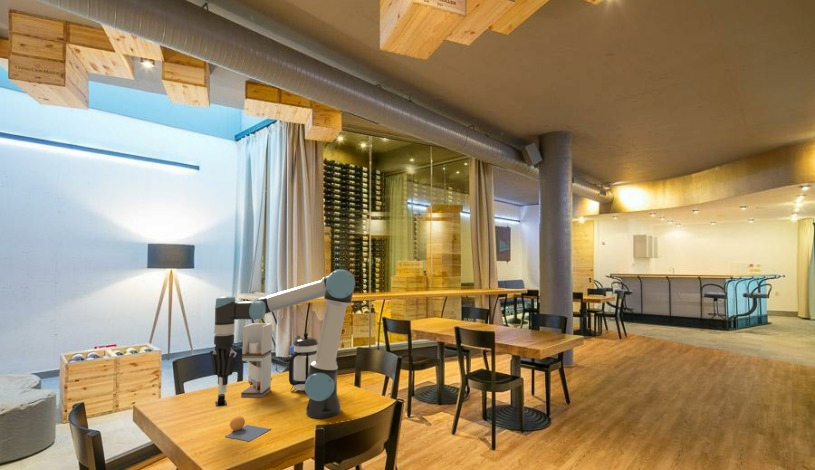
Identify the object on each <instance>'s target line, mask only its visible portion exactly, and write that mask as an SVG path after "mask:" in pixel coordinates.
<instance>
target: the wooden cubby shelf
mask: <svg viewBox="0 0 815 470" xmlns="http://www.w3.org/2000/svg"><path fill="white" fill-rule="evenodd" d="M242 330H243V331H242V355H241V356H242V357H241V358H242V359H241V361H242V362H243V361H244V362H248V363H247V374H248V376H250V377H251V378H252V379H253V382H252V385H250V386H249V387H248V388H246V389H245V390H243V391H242V392H240V393H241V394H240V397H241V398H262V397H264V396H265V395H266V394H268V393H269V392H270V391H271V387H272V384H271V383H272V382H271V381H272V380H271V379H272V347H273V346H272V344H273V343H272V340H273V336H272V335H273V323H268V322H267V323H264V322H263V323H258V322H257V323H256V322H255V323H254V322H253V323H250V324H246V325H244V326H242Z"/></svg>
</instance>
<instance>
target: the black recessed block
mask: <svg viewBox="0 0 815 470" xmlns="http://www.w3.org/2000/svg"><path fill="white" fill-rule="evenodd" d="M225 395H226V393H223V394H217V400H216V401H214V403H215V407H216V408H217V407H223V406H228V403H227V399H226V396H225Z"/></svg>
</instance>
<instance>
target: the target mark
mask: <svg viewBox="0 0 815 470" xmlns="http://www.w3.org/2000/svg"><path fill="white" fill-rule="evenodd" d="M269 431H271V428H266V427H263V426H256V425H250V424H246V425H244V426H243V428H242V429H240V430H238V431H234V430H233V431H232V432H231V433H228V434H227V435H224V438H229V439H233V440H239V441H244V442H251V441H253V440H255V439H256V438H258V437H260V436H262V435H263V434H266V433H267V432H269Z"/></svg>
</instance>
